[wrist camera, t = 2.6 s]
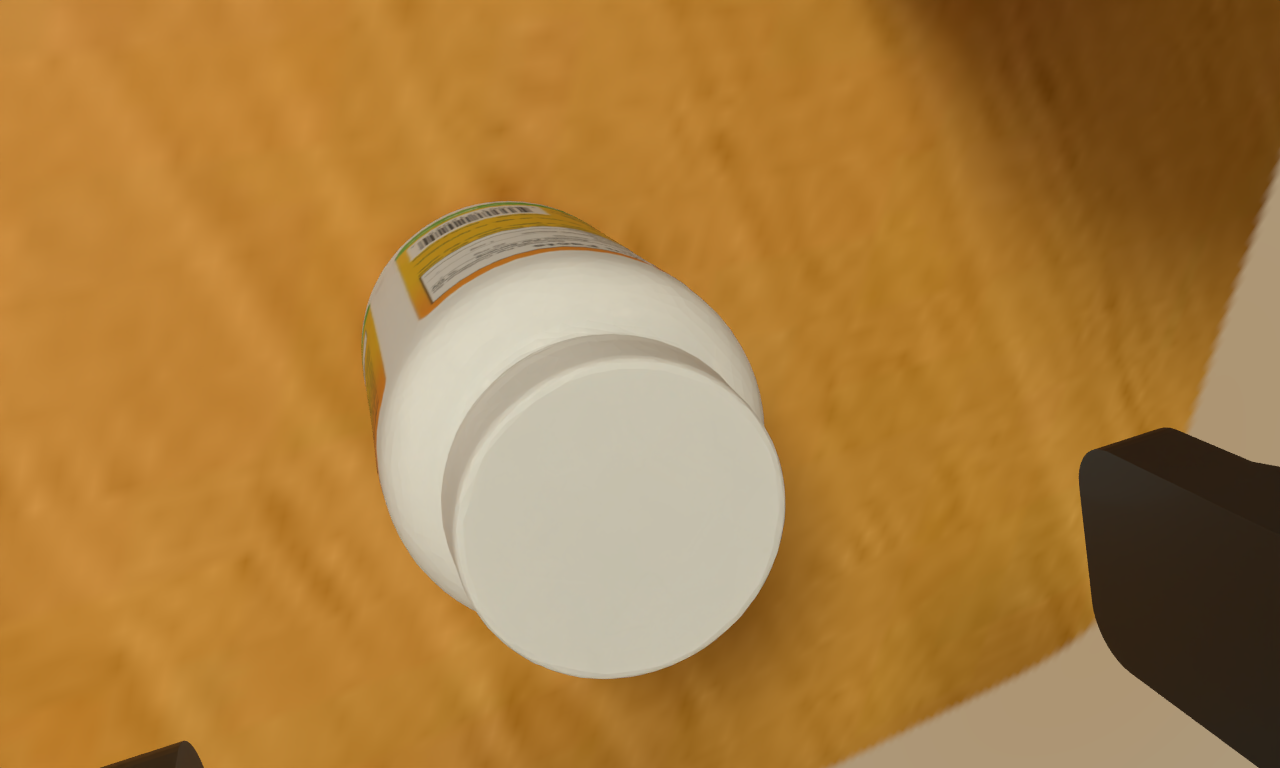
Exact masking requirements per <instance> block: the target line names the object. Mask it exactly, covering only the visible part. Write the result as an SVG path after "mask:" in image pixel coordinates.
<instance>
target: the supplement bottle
mask: <svg viewBox="0 0 1280 768" xmlns="http://www.w3.org/2000/svg"><path fill="white" fill-rule="evenodd" d="M362 365H363V374H364V380H365V386H366V391H367V397H368V403H369V409H370V416H371V422H372V430H373V438H374V447H375V455H376V465H377V473H378V475H379V481H380V484H381V488H382V492H383V495H384V498H385V501H386V504H387V507H388V510H389V513H390V516H391V519H392V522H393V524H394V526H395V528H396V530H397V532H398V534H399V536H400V538H401V540H402V542H403V543H404V545H405V547H406V548H407V550H408V551H409V553H410V555H411V556H412V558H413V559H414V560H415V562H416V563H417V564H418V566H419V567H420V568H421V569H422V570H423V571H424V572H425V573H426V574H427V575H428V576H429V577H430V578H431V579H432V580H433V581H434V582H435V583H436V584H437V585H438V586H439V587H440V588H441V589H442V590H443V591H445V592H446V593H447V594H449V595H450V596H451V597H453V598H454V599H456V600H457V601H459V602H460V603H462V604H464V605H465V606H467V607H469V608H470V609H472V610H474V611H476V612H477V614H478V615H479V616H480V618H481V619H482V621H483V622H484V623H485V625H486V626H487V627H488V628H489V629H490V630H491V631H492V632H493V633H494V634H495V635H496V636H497V637H498V638H499V639H500V640H501V641H502V642H503V643H505V644H506V645H507V646H508V647H510V648H511V649H512V650H514V651H515V652H517V653H518V654H520V655H521V656H523V657H524V658H526V659H528V660H530V661H531V662H533V663H535V664H538V665H541V666H543V667H545V668H548V669H550V670H553V671H556V672H559V673H563V674H567V675H571V676H576V677H581V678H595V679H615V678H625V677H633V676H638V675H643V674H647V673H650V672H654V671H657V670H660V669H663V668H666V667H669V666H671V665H674V664H676V663H678V662H680V661H682V660H684V659H686V658H688V657H690V656H692V655H694V654H695V653H697V652H699V651H700V650H702V649H704V648H705V647H707V646H708V645H709V644H711V643H712V642H713V641H715V640H716V639H717V638H718V637H719V636H721V635H722V634H723V633H724V632H725V631H726V630H727V629H728V628H730V627H731V626H732V625H733V624H734V623H735V622H736V621H737V620H738V619H739V618H740V617H741V616H742V615H743V613H744V612H745V611H746V609H747V608H748V607H749V605H750V604H751V603H752V601H753V600H754V599H755V597H756V596H757V594H758V593H759V591H760V589H761V588H762V586H763V584H764V583H765V581H766V579H767V577H768V574H769V572H770V570H771V568H772V565H773V563H774V560H775V558H776V555H777V552H778V548H779V545H780V541H781V537H782V532H783V526H784V520H785V489H784V481H783V475H782V469H781V465H780V462H779V458H778V455H777V452H776V450H775V447H774V444H773V442H772V440H771V438H770V436H769V434H768V432H767V431H766V429H765V427H764V416H763V408H762V403H761V397H760V392H759V389H758V385H757V382H756V378H755V376H754V373H753V370H752V368H751V365H750V363H749V361H748V359H747V357H746V355H745V353H744V351H743V349H742V347H741V345H740V344H739V342H738V341H737V339H736V337H735V336H734V334H733V333H732V331H731V330H730V328H729V327H728V326H727V325H726V323H725V322H724V321H723V320H722V319H721V317H720V316H719V315H718V314H717V313H716V312H715V311H714V310H713V309H712V308H711V307H710V306H709V305H708V304H707V303H706V302H705V301H703V300H702V299H701V298H700V297H699V296H698V295H696V294H695V293H694V292H693V291H691V290H690V289H689V288H688V287H687V286H686V285H685V284H683V283H682V282H680V281H679V280H677V279H676V278H674V277H672V276H671V275H669V274H668V273H666V272H664V271H663V270H661V269H659V268H657V267H656V266H654V265H653V264H650V263H649V262H647V261H645V260H644V259H642V258H641V257H639V256H638V255H636V254H634V253H633V252H631V251H630V250H629V249H627V248H626V247H624V246H622V245H620V244H619V243H617V242H616V241H614V240H612V239H611V238H609V237H608V236H606V235H604V234H603V233H601V232H600V231H598V230H597V229H595V228H593V227H592V226H590V225H589V224H587V223H585V222H583V221H582V220H580V219H578V218H576V217H574V216H572V215H570V214H567V213H565V212H563V211H560V210H558V209H554V208H551V207H548V206H544V205H540V204H534V203H527V202H515V201H501V202H489V203H482V204H477V205H472V206H468V207H465V208H462V209H459V210H456V211H453V212H451V213H449V214H447V215H444V216H442V217H441V218H439V219H437V220H435V221H433V222H432V223H430V224H429V225H427V226H426V227H424V228H423V229H421V230H420V231H419V232H417V233H416V234H415V235H413V236H412V237H411V238H410V239H409V240H408V241H407V242H406V243H405V244H404V245H403V246H402V247H401V248H400V249H399V250H398V251H397V252H396V253H395V255H394V256H393V257H392V259H391V260H390V261H389V263H388V264H387V265H386V266H385V268H384V269H383V271H382V273H381V275H380V276H379V278H378V280H377V282H376V284H375V286H374V288H373V291H372V293H371V295H370V298H369V302H368V305H367V308H366V313H365V318H364V323H363V331H362Z"/></svg>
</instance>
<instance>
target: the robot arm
mask: <svg viewBox="0 0 1280 768" xmlns="http://www.w3.org/2000/svg"><path fill="white" fill-rule="evenodd" d="M1079 487H1080V496H1081V505H1082V514H1083V523H1084V532H1085V541H1086V550H1087V559H1088V568H1089V577H1090V586H1091V595H1092V604H1093V610H1094V614H1095V618H1096V621H1097V624H1098V627H1099V629H1100V632H1101V634H1102V636H1103V638H1104V640H1105V642H1106V643H1107V646H1108V647H1109V649H1110V650H1111V652H1112V653H1113V655H1114V656H1115V657H1116V659H1117V660H1118V661H1119V662H1120V663H1121V664H1122V666H1123V667H1124V668H1125V669H1127V670H1128V671H1129V672H1130V673H1131V674H1133V675H1134V676H1135V677H1137V678H1138V679H1140V680H1141V681H1142V682H1144V683H1145V684H1146V685H1148V686H1149V687H1150V688H1152V689H1153V690H1154V691H1156V692H1157V693H1158V694H1160V695H1161V696H1162V697H1164V698H1165V699H1167V700H1168V701H1169V702H1171V703H1172V704H1173V705H1175V706H1176V707H1177V708H1179V709H1180V710H1181V711H1183V712H1184V713H1186V714H1187V715H1188V716H1190V717H1191V718H1192V719H1194V720H1195V721H1196V722H1198V723H1199V724H1200V725H1202V726H1203V727H1205V728H1206V729H1207V730H1209V731H1210V732H1211V733H1213V734H1214V735H1215V736H1217V737H1218V738H1219V739H1221V740H1222V741H1223V742H1225V743H1226V744H1227V745H1229V746H1230V747H1232V748H1233V749H1234V750H1236V751H1237V752H1238V753H1240V754H1241V755H1242V756H1244V757H1245V758H1247V759H1248V760H1249V761H1250V762H1252V763H1253V764H1254V765H1256V766H1257V767H1259V768H1280V467H1278V466H1272V465H1266V464H1261V463H1256V462H1251V461H1249V460H1246V459H1244V458H1242V457H1240V456H1237V455H1235V454H1232V453H1230V452H1227V451H1225V450H1223V449H1221V448H1218V447H1216V446H1214V445H1211V444H1209V443H1206V442H1204V441H1201V440H1199V439H1197V438H1195V437H1192V436H1190V435H1188V434H1185V433H1183V432H1180V431H1178V430H1175V429H1172V428H1160V429H1156V430H1153V431H1150V432H1147V433H1144V434H1141V435H1138V436H1135V437H1132V438H1128V439H1125V440H1122V441H1119V442H1116V443H1113V444H1110V445H1107V446H1104V447H1101V448H1097V449H1094V450H1091V451H1090V452H1088V453H1087V454H1086V455H1085V456H1084V458H1083V460H1082V462H1081V465H1080V469H1079ZM101 768H204V767H203V765H202V762H201V760H200V758H199V756H198V754H197V752H196V751H195V749H194V748H193V746H192V745H191V744H190V743H189V742H188V741H182V742H179V743H176V744H172V745H169V746H166V747H163V748H160V749H157V750H154V751H151V752H148V753H145V754H141V755H138V756H135V757H132V758H129V759H126V760H123V761H120V762H117V763H113V764H110V765H107V766H104V767H101Z"/></svg>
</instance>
